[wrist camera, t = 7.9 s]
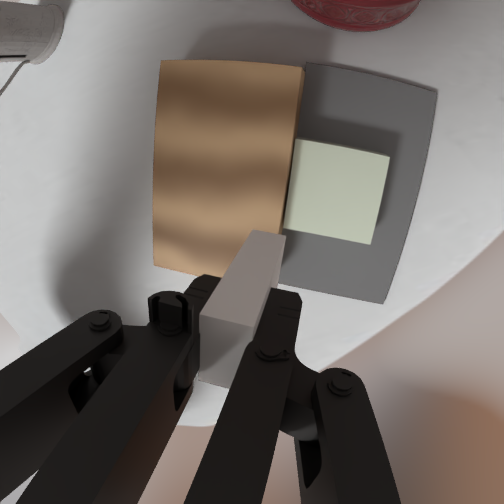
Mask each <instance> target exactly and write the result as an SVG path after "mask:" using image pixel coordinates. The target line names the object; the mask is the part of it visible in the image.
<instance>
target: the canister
mask: <svg viewBox="0 0 504 504" xmlns="http://www.w3.org/2000/svg"><path fill="white" fill-rule="evenodd" d="M291 1H292V2H293V3H294V4H295V5H296V6H297V7H298V8H299V9H300V10H302V11H303V12H304V13H306V14H307V15H308V16H310V17H312V18H313V19H315V20H317V21H319V22H321V23H323V24H325V25H327V26H330V27H333V28H337V29H341V30H345V31H352V32H371V31H377V30H381V29H386V28H389V27H392V26H394V25H396V24H398V23H400V22H402V21H403V20H405V19H406V18H407V17H408V16H410V15H411V13H412V12H413V11H414V10H415V9H416V8H417V6H418V5H419V3H420V1H421V0H291Z"/></svg>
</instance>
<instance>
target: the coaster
mask: <svg viewBox="0 0 504 504" xmlns="http://www.w3.org/2000/svg"><path fill="white" fill-rule="evenodd" d="M389 160H390V157H389V156H388V155H386V154H384V153H380V152H375V151H371V150H366V149H361V148H357V147H352V146H347V145H342V144H336V143H331V142H325V141H320V140H314V139H308V138H302V137H297V138H296V139H295V146H294V154H293V161H292V169H291V176H290V184H289V191H288V198H287V205H286V212H285V219H284V226H283V228H286V229H291V230H297V231H302V232H307V233H313V234H318V235H323V236H328V237H334V238H339V239H344V240H349V241H354V242H359V243H364V244H369V245H370V244H371V240H372V236H373V232H374V228H375V224H376V220H377V216H378V212H379V207H380V203H381V199H382V194H383V189H384V185H385V180H386V175H387V170H388V165H389Z"/></svg>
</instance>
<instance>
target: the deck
mask: <svg viewBox="0 0 504 504" xmlns="http://www.w3.org/2000/svg"><path fill="white" fill-rule="evenodd" d="M304 79H305V72H304V70H303V68H302V67H297V66H289V65H280V64H270V63H259V62H246V61H227V60H162V61H161V65H160V74H159V84H158V95H157V108H156V122H155V140H154V163H153V259H154V266H158V267H162V268H166V269H170V270H175V271H179V272H183V273H187V274H191V275H195V276H201V275H203V274H208V275H212V276H217V277H221V278H222V277H223V276H224V274H225V272H226V271H227V269H228V268H229V266H230V264H231V263H232V261H233V260H234V258H235V257H236V255H237V253H238V252H239V250H240V249H241V247H242V246H243V244H244V242H245V241H246V239H247V238H248V236H249V234H250V233H251V231H252V230H253V229H254V230H259V231H264V232H270V233H275V234H280V235H282V229H283V223H284V217H285V210H286V204H287V198H288V191H289V184H290V176H291V169H292V161H293V154H294V146H295V139H296V137H297V130H298V123H299V116H300V108H301V101H302V94H303V86H304Z"/></svg>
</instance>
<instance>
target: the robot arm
mask: <svg viewBox="0 0 504 504" xmlns="http://www.w3.org/2000/svg"><path fill="white" fill-rule="evenodd" d="M285 240H286V236H285V235H280V234H275V233H270V232H264V231H259V230H254V229H253V230H252V231H251V233H250V234H249V236H248V238H247V239H246V241H245V242H244V244H243V246H242V247H241V249H240V250H239V252H238V253H237V255H236V257H235V258H234V260H233V261H232V263H231V264H230V266H229V268H228V269H227V271H226V272H225V274H224V276H223V277H222V278H221V277H217V276H212V275H208V274H203V275H201V276H199V277H197V278H196V279H194V280H193V282H192V283H191V284H190V285H189V287H188V288H187V289H186V291H185V292H184V294H183V293H180V292H176V291H161V292H158V293H155V294H153V295H152V296H150V297H149V298H148V308H149V320H150V322H149V323H148V324H147V326H129V325H122V321H121V318H120V316H119V315H117V314H116V313H115V312H112V311H109V310H97V311H92V312H90V313H88V314H86V315H84V316H83V317H81V318H80V319H78V320H76V321H75V322H73V323H72V324H70V325H69V326H67V327H66V328H64V329H62V330H61V331H59V332H58V333H56V334H55V335H53V336H52V337H50V338H48V339H47V340H45V341H44V342H42V343H41V344H39V345H38V346H36V347H35V348H33V349H32V350H30V351H29V352H27V353H26V354H24V355H23V356H21V357H20V358H18V359H17V360H15V361H14V362H12V363H11V364H9V365H8V366H6V367H5V368H3V369H2V370H0V502H1V501H2V500H3V499H4V498H5V497H6V496H8V495H9V494H10V493H11V492H12V491H13V490H15V489H16V488H17V487H18V486H19V485H21V484H22V483H23V482H24V481H26V480H27V479H28V478H29V477H30V476H32V475H33V474H34V473H35V472H36V471H37V470H38V472H37V473H36V474H35V476H34V477H33V479H32V480H31V482H30V483H29V485H28V486H27V488H26V489H25V491H24V492H23V494H22V495H21V496H20V498H19V499H18V501H17V502H16V504H137V503H138V501H139V499H140V497H141V495H142V493H143V491H144V489H145V487H146V485H147V483H148V481H149V479H150V477H151V475H152V473H153V471H154V469H155V467H156V465H157V463H158V461H159V459H160V457H161V455H162V453H163V451H164V449H165V447H166V445H167V443H168V441H169V439H170V437H171V435H172V433H173V431H174V429H175V427H176V425H177V423H178V421H179V419H180V417H181V415H182V413H183V411H184V408H185V406H186V404H187V402H188V400H189V398H190V396H191V394H192V392H193V380H194V378H195V376H196V374H197V372H198V380H199V381H203V382H206V383H210V384H214V385H217V386H221V387H225V388H228V389H230V390H229V392H228V395H227V397H226V400H225V402H224V405H223V408H222V410H221V413H220V415H219V418H218V420H217V423H216V425H215V428H214V431H213V433H212V435H211V438H210V440H209V443H208V445H207V448H206V451H205V453H204V455H203V458H202V460H201V463H200V465H199V467H198V470H197V472H196V475H195V477H194V480H193V482H192V484H191V487H190V489H189V492H188V494H187V496H186V499H185V501H184V504H261V503H262V499H263V495H264V491H265V487H266V483H267V479H268V475H269V471H270V467H271V463H272V459H273V455H274V451H275V446H276V442H277V437H278V433H279V430H281V431H282V432H284V433H286V434H288V435H291V436H293V437H294V443H295V451H296V460H297V469H298V478H299V487H300V496H301V504H401V502H400V498H399V494H398V491H397V487H396V484H395V480H394V477H393V473H392V470H391V467H390V463H389V460H388V457H387V453H386V450H385V447H384V443H383V440H382V437H381V434H380V431H379V428H378V424H377V421H376V418H375V415H374V412H373V409H372V406H371V404H370V400H369V397H368V394H367V392H366V388H365V386H364V384H363V382H362V380H361V379H360V378H359V377H358V376H357V375H356V374H355V373H353V372H351V371H349V370H346V369H342V368H330V369H326V370H324V371H323V372H321V373H318V372H316V371H314V370H311V369H310V368H308V367H306V366H305V365H303V364H302V363H301V362H300V361H299V359H298V358H297V357H296V354H295V342H296V337H297V331H298V325H299V319H300V314H301V308H302V300H301V298H300V296H299V294H298V293H296V292H291V291H286V290H281V289H277V285H278V280H279V274H280V269H281V263H282V257H283V251H284V246H285ZM89 367H90V368H91V370H89V371H87V372H85V373H84V371H85V370H86V369H88V368H89Z"/></svg>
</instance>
